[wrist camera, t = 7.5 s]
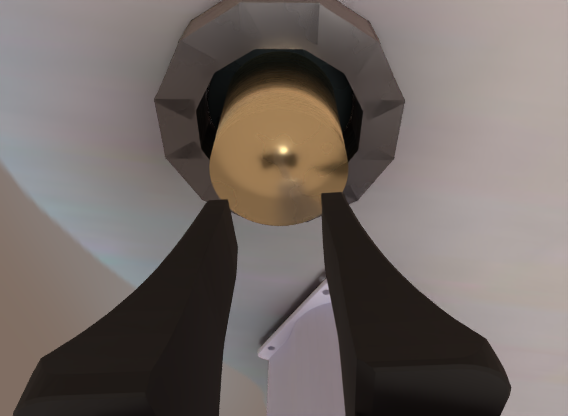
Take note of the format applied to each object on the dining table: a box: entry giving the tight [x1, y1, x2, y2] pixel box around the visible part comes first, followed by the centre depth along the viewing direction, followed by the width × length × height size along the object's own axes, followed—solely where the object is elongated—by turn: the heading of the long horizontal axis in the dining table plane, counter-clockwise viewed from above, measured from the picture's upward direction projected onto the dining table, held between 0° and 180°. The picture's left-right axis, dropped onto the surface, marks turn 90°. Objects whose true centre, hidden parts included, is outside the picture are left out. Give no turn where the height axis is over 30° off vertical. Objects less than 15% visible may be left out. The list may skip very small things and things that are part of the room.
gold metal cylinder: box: [209, 51, 348, 226], centre depth 18 cm, size 5×5×6 cm
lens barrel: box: [154, 0, 405, 222], centre depth 19 cm, size 10×10×3 cm
